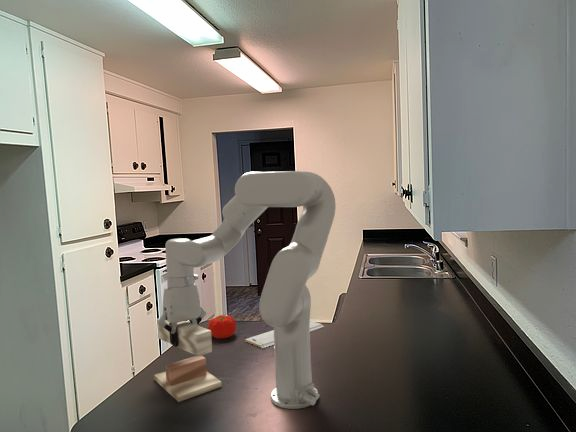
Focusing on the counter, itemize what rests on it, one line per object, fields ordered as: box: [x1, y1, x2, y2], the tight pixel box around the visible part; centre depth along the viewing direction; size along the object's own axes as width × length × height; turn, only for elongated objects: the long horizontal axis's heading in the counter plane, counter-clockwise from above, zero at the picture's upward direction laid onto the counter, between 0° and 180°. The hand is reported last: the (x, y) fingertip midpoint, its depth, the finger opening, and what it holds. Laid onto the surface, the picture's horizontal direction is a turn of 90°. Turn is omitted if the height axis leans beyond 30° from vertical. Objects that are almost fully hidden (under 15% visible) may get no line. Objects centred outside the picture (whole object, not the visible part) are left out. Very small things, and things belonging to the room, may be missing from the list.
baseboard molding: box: [244, 320, 325, 350], centre depth 162 cm, size 31×3×12 cm
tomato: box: [207, 314, 237, 340], centre depth 163 cm, size 11×11×8 cm
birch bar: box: [156, 317, 213, 357], centre depth 124 cm, size 22×4×6 cm, turn 45°
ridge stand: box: [153, 355, 223, 403], centre depth 124 cm, size 18×13×6 cm
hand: (183, 342), depth 124 cm, fingers closed on birch bar, 4 cm apart
